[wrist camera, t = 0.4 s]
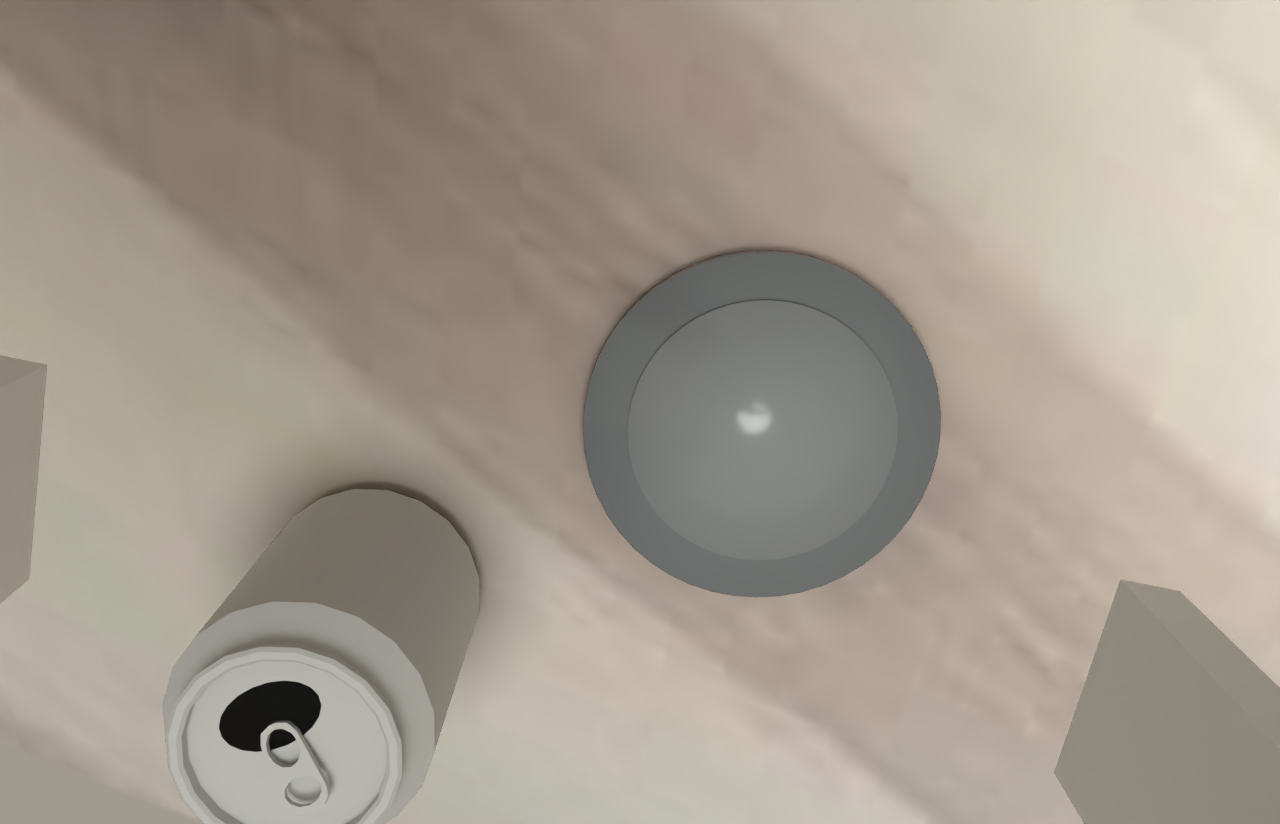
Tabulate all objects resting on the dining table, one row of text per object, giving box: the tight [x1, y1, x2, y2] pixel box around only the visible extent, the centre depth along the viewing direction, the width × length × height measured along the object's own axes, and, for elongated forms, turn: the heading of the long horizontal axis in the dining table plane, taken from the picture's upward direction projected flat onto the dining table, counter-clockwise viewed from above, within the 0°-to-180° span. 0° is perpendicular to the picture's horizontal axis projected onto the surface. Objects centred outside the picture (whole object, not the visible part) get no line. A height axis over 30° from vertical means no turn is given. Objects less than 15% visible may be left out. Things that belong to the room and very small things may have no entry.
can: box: [163, 489, 480, 824], centre depth 38 cm, size 8×8×12 cm
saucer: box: [583, 250, 941, 597], centre depth 41 cm, size 12×12×1 cm
